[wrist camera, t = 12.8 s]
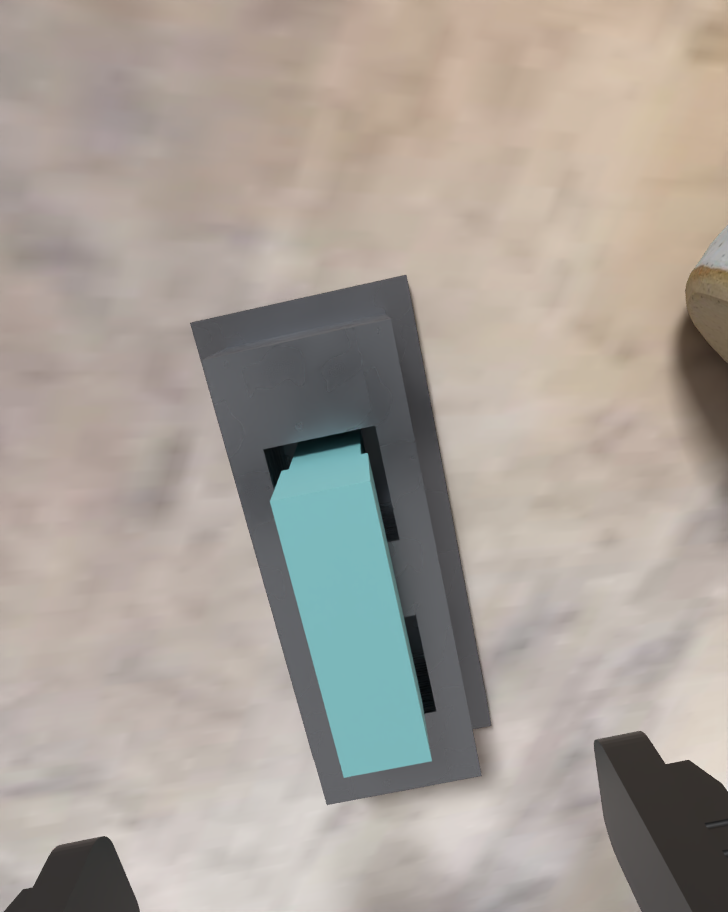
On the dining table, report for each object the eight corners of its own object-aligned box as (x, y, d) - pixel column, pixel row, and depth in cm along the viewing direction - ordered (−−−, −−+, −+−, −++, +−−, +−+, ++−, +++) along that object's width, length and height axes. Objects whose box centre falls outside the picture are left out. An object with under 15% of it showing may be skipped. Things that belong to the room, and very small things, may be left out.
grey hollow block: (194, 321, 21) (158, 330, 17) (404, 275, 20) (416, 273, 16) (314, 748, 25) (307, 833, 21) (488, 715, 25) (512, 795, 21)
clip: (294, 436, 21) (269, 501, 15) (364, 421, 21) (370, 480, 15) (346, 643, 23) (343, 777, 17) (410, 630, 23) (432, 761, 17)
